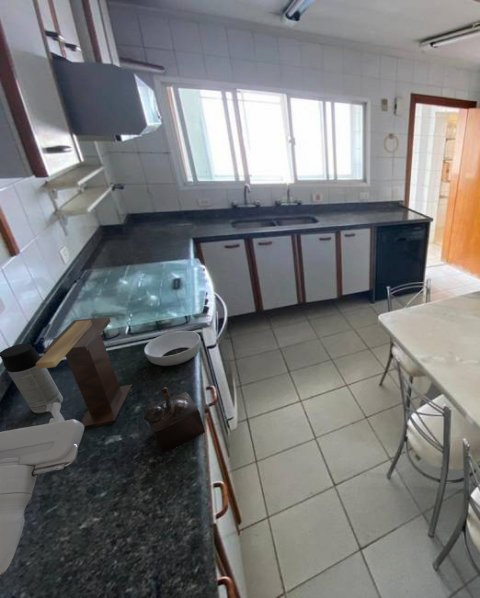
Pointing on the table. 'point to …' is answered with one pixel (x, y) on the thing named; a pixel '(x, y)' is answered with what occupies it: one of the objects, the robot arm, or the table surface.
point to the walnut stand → (95, 375)
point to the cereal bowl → (173, 347)
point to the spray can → (30, 377)
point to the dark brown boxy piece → (174, 421)
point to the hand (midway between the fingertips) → (24, 408)
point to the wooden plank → (64, 345)
